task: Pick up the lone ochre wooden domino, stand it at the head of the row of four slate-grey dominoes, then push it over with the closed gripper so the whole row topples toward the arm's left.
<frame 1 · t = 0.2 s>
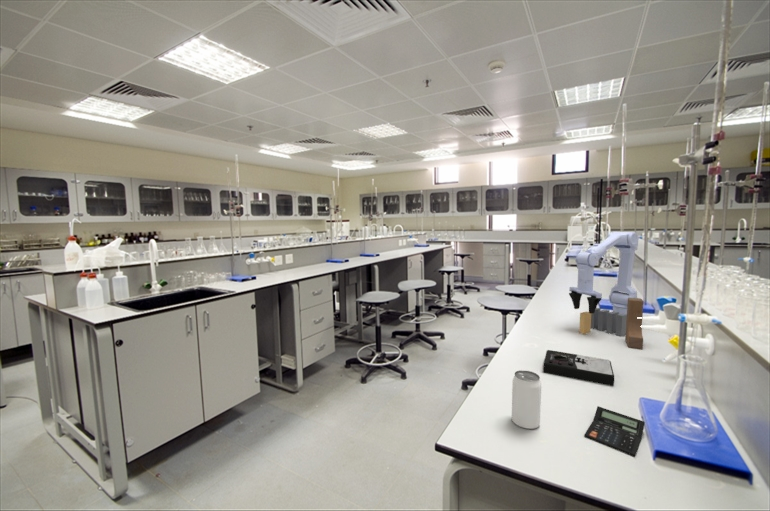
hand: (583, 310, 143), 10 cm above the counter, tool pointing down, fingers open, 7 cm apart
slate domino 1: (594, 327, 151), on the counter
slate domino 2: (603, 330, 148), on the counter
slate domino 4: (621, 335, 141), on the counter
multimeter: (576, 372, 108), on the counter
wooden block: (633, 345, 130), on the counter
ochre domino: (584, 332, 145), on the counter
can: (525, 422, 81), on the counter
calculator: (614, 436, 76), on the counter
slate domino 3: (612, 332, 145), on the counter
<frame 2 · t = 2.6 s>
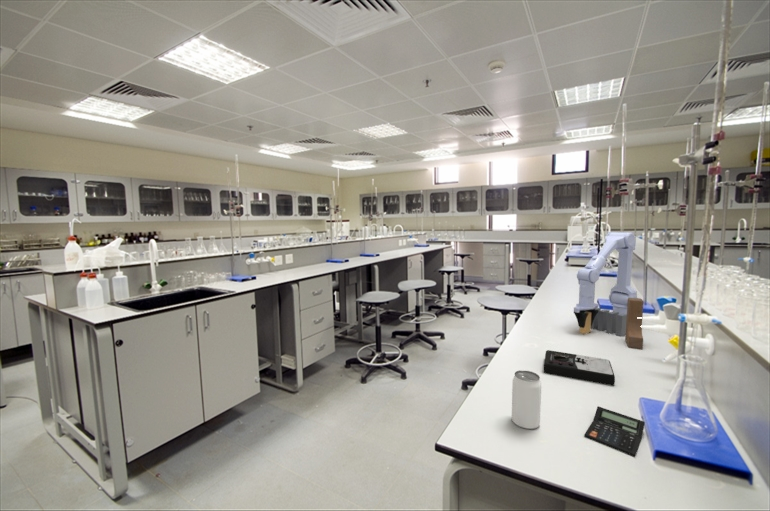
hand: (585, 326, 144), 3 cm above the counter, tool pointing down, fingers closed on ochre domino, 5 cm apart
ochre domino: (584, 332, 145), on the counter, touching gripper
everything else where it was.
when the fingers open (3 cm above the counter, at t = 6.4 s): ochre domino stays where it is, on the counter.
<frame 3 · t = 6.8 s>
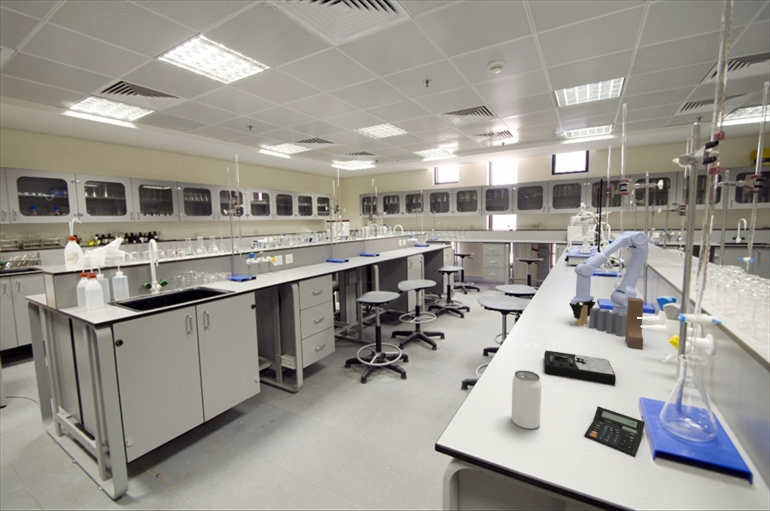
hand: (581, 317, 156), 3 cm above the counter, tool pointing down, fingers open, 7 cm apart
ochre domino: (581, 324, 156), on the counter
everything else where it was.
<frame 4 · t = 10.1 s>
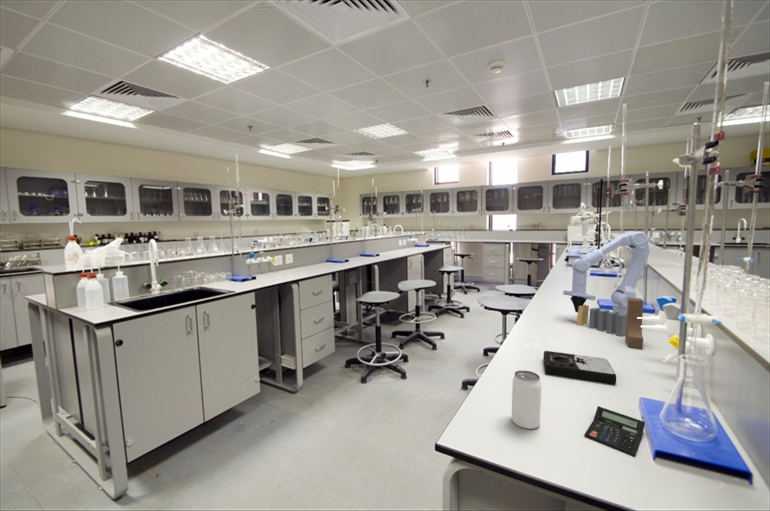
hand: (577, 312, 158), 5 cm above the counter, tool pointing down, fingers closed
nothing on the counter moved.
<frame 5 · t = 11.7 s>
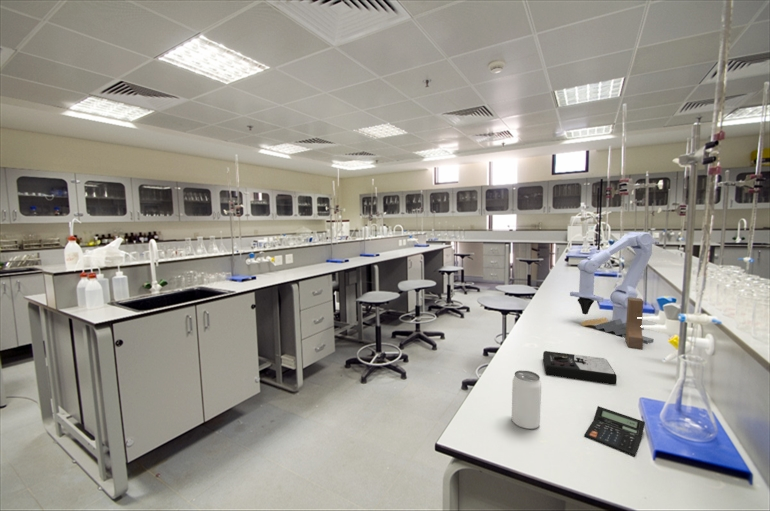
hand: (585, 313, 155), 5 cm above the counter, tool pointing down, fingers closed
slate domino 1: (599, 326, 149), point 1 cm above the counter, tilted 60°, touching ochre domino
slate domino 2: (608, 329, 146), point 1 cm above the counter, tilted 61°
slate domino 4: (625, 335, 140), on the counter, tilted 90°, touching slate domino 3
ochre domino: (584, 323, 155), point 1 cm above the counter, tilted 68°, touching slate domino 1
slate domino 3: (618, 332, 142), point 1 cm above the counter, tilted 63°, touching slate domino 4
everything else where it was.
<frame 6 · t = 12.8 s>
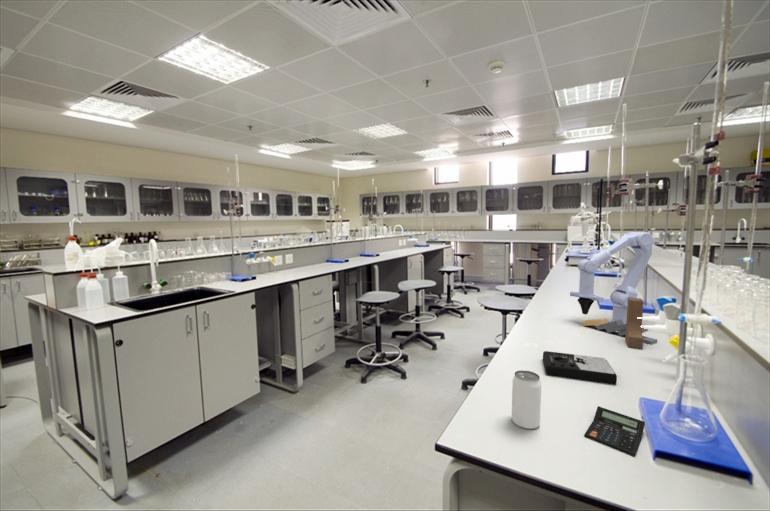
hand: (585, 313, 155), 5 cm above the counter, tool pointing down, fingers closed
slate domino 1: (600, 327, 149), point 1 cm above the counter, tilted 61°, touching ochre domino, slate domino 2
slate domino 2: (609, 329, 145), point 1 cm above the counter, tilted 62°, touching slate domino 1, slate domino 3
slate domino 4: (628, 336, 139), on the counter, tilted 90°, touching slate domino 3
slate domino 3: (621, 332, 142), point 1 cm above the counter, tilted 67°, touching slate domino 2, slate domino 4
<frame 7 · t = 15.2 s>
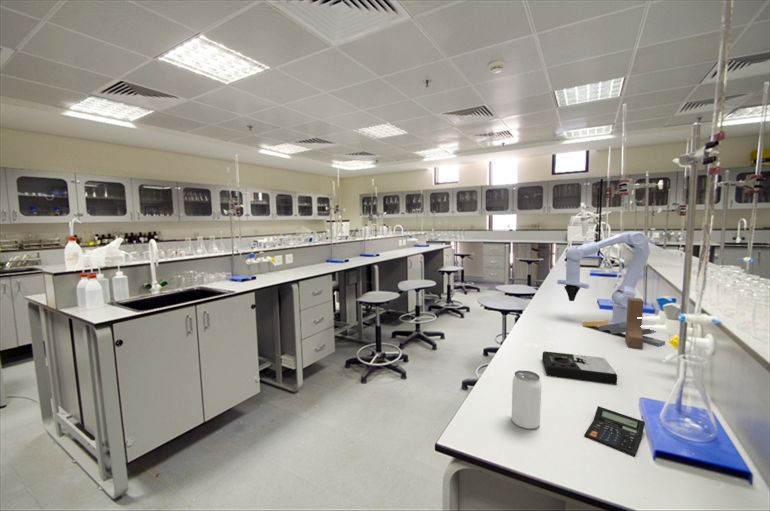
hand: (571, 300, 160), 10 cm above the counter, tool pointing down, fingers closed
slate domino 1: (602, 327, 148), point 1 cm above the counter, tilted 65°, touching ochre domino, slate domino 2
slate domino 2: (613, 330, 144), point 1 cm above the counter, tilted 66°, touching slate domino 1, slate domino 3
slate domino 4: (635, 337, 137), on the counter, tilted 90°, touching slate domino 3
slate domino 3: (628, 333, 139), point 1 cm above the counter, tilted 66°, touching slate domino 2, slate domino 4
at the end: ochre domino inside the target area (2.6 cm from its centre), point 0.9 cm above the counter; ochre domino tilted 73°; slate domino 4 tilted 90° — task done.
